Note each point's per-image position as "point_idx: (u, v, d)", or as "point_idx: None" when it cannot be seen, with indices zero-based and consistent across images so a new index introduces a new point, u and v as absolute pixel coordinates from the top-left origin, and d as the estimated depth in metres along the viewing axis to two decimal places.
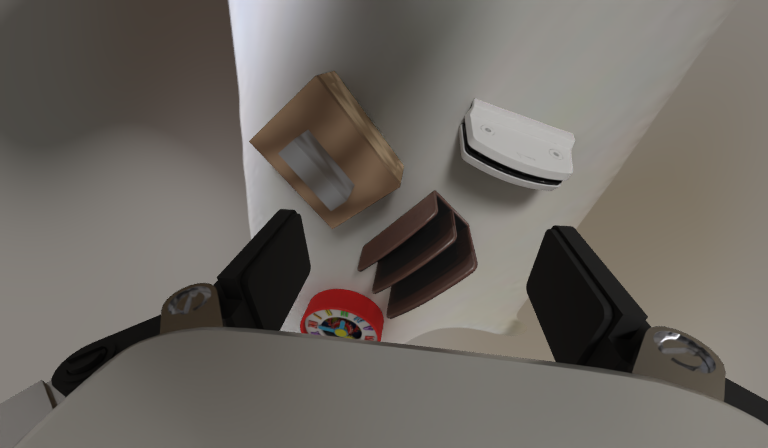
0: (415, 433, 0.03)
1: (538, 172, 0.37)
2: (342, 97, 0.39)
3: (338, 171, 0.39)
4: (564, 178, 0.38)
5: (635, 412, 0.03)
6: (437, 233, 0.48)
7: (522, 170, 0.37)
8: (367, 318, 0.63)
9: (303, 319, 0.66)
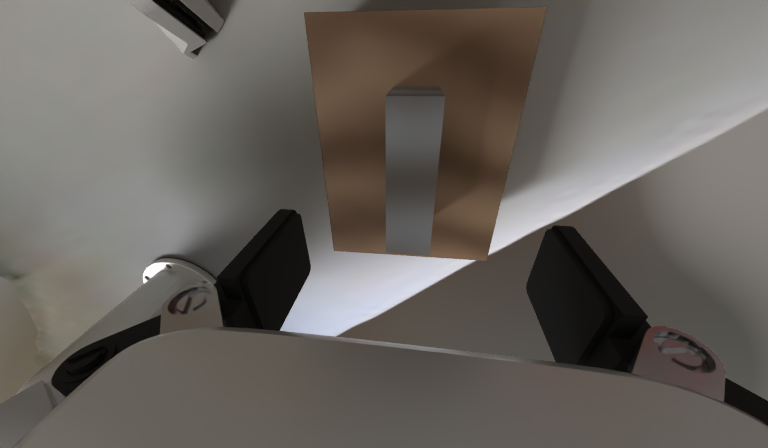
0: (415, 433, 0.03)
1: None
2: None
3: None
4: None
5: (635, 412, 0.03)
6: None
7: None
8: None
9: None
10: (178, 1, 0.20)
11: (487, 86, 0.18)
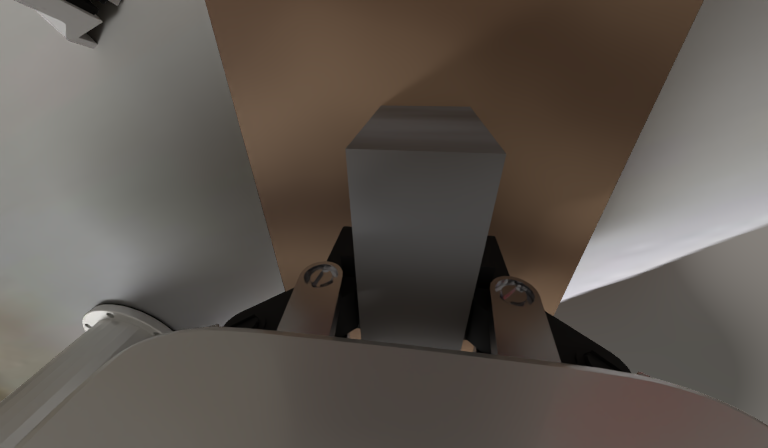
0: (415, 433, 0.03)
1: None
2: None
3: None
4: None
5: (635, 412, 0.03)
6: None
7: None
8: None
9: None
10: None
11: (566, 107, 0.09)
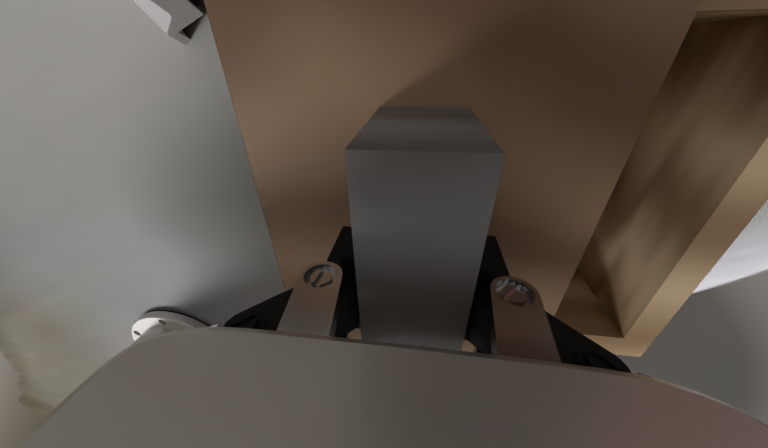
0: (415, 433, 0.03)
1: None
2: None
3: None
4: None
5: (635, 412, 0.03)
6: None
7: None
8: None
9: None
10: None
11: (566, 106, 0.09)
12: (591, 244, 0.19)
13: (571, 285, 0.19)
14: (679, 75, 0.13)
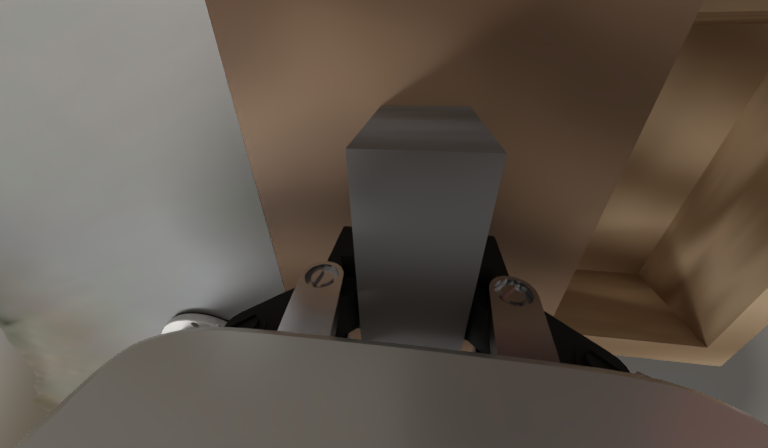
0: (415, 433, 0.03)
1: None
2: None
3: None
4: None
5: (635, 413, 0.03)
6: None
7: None
8: None
9: None
10: None
11: (567, 107, 0.09)
12: (659, 249, 0.19)
13: (637, 292, 0.19)
14: None
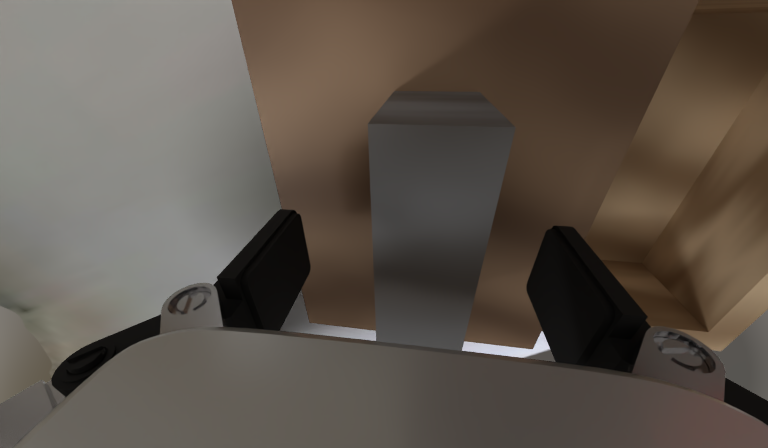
0: (415, 433, 0.03)
1: None
2: None
3: None
4: None
5: (635, 412, 0.03)
6: None
7: None
8: None
9: None
10: None
11: (572, 92, 0.09)
12: (663, 238, 0.19)
13: (641, 279, 0.19)
14: None
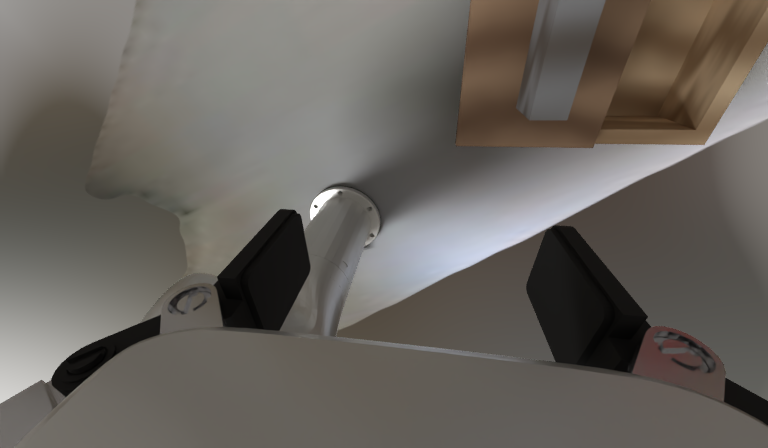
0: (415, 433, 0.03)
1: None
2: None
3: (537, 25, 0.23)
4: None
5: (634, 412, 0.03)
6: None
7: None
8: None
9: None
10: None
11: None
12: (670, 92, 0.31)
13: (656, 119, 0.31)
14: None
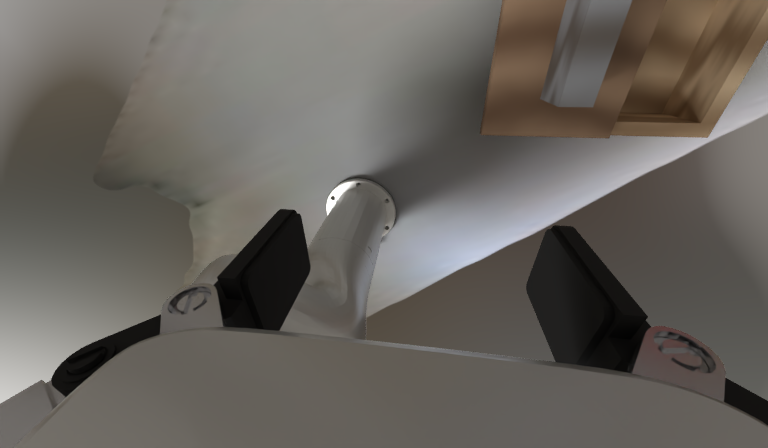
0: (415, 433, 0.03)
1: None
2: None
3: (565, 20, 0.26)
4: None
5: (634, 412, 0.03)
6: None
7: None
8: None
9: None
10: None
11: None
12: (674, 92, 0.34)
13: (663, 115, 0.34)
14: None
